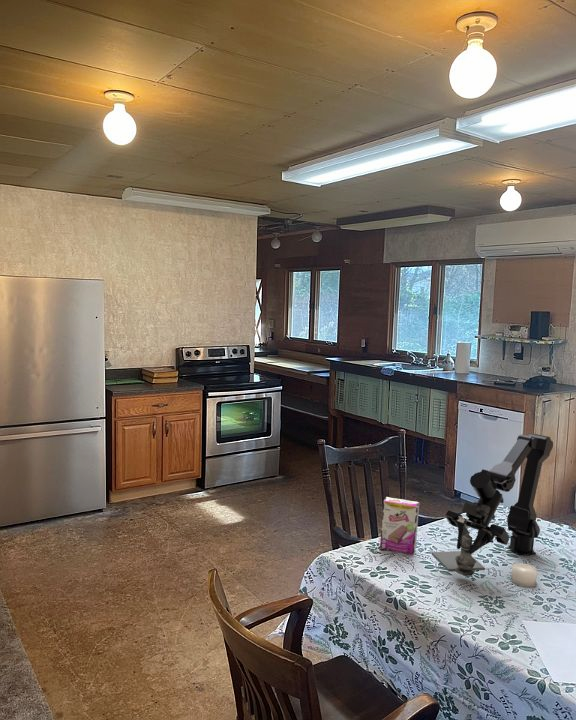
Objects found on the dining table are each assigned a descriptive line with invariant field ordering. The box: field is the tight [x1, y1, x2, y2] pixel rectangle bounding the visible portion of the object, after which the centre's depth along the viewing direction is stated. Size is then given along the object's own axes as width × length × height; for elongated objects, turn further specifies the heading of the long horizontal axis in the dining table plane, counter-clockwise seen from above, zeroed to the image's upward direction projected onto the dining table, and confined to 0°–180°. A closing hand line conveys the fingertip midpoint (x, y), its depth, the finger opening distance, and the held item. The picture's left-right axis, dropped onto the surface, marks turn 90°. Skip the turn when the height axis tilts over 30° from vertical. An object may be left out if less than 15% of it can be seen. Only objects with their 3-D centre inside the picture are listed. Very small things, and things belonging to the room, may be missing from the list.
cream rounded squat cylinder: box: [510, 562, 538, 588], centre depth 173 cm, size 7×7×4 cm
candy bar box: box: [379, 496, 420, 556], centre depth 190 cm, size 11×5×16 cm, turn 71°
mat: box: [431, 550, 486, 572], centre depth 184 cm, size 12×12×1 cm
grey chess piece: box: [455, 532, 477, 577], centre depth 171 cm, size 6×6×12 cm
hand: (463, 551), depth 170 cm, fingers closed on grey chess piece, 4 cm apart
